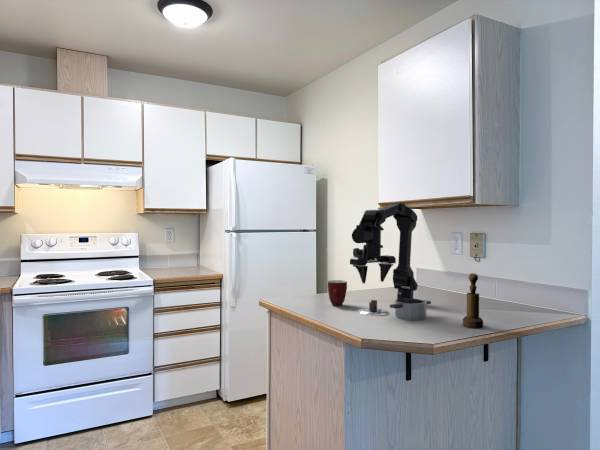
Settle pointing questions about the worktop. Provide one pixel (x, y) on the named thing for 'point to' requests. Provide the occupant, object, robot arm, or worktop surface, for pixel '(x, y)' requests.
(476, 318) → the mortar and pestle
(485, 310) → the worktop surface
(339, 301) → the mug
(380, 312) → the lid
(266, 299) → the worktop surface
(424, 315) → the pot
